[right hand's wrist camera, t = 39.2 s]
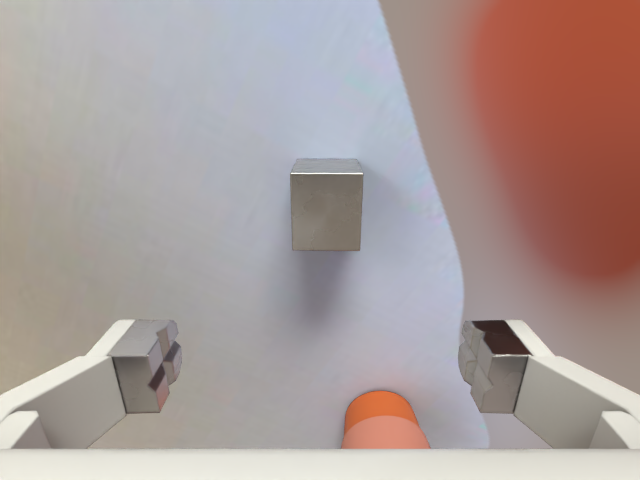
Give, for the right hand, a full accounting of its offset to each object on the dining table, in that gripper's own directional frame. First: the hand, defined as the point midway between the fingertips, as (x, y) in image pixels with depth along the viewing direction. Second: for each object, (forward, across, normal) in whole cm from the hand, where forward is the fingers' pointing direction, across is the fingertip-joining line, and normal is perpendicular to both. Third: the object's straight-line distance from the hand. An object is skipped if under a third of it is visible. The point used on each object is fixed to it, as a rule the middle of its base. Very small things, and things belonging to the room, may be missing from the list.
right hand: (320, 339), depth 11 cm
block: (+17, 0, 0) cm, 17 cm away
